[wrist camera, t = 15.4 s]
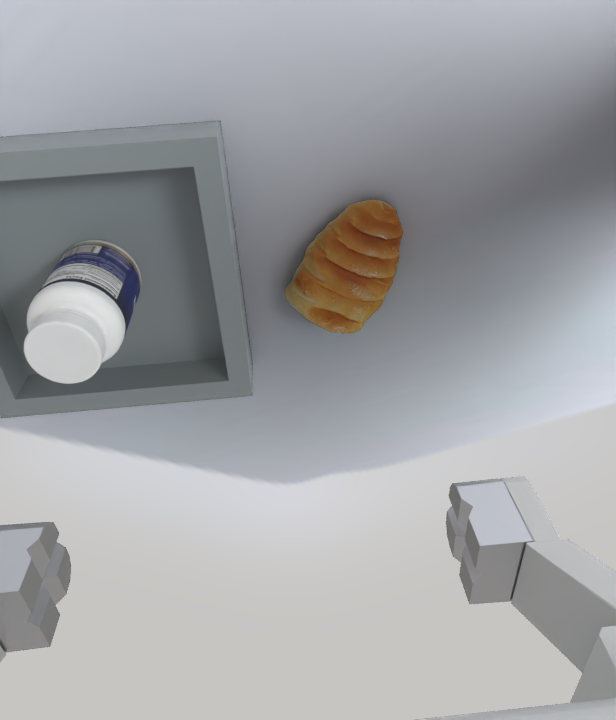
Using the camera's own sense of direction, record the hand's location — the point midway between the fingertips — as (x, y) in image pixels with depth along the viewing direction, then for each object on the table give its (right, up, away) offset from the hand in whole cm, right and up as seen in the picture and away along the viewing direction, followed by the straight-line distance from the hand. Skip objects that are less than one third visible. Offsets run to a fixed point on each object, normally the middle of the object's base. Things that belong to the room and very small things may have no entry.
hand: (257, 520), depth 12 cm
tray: (-13, +10, +28) cm, 32 cm away
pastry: (+3, +10, +29) cm, 31 cm away
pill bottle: (-13, +9, +27) cm, 31 cm away
